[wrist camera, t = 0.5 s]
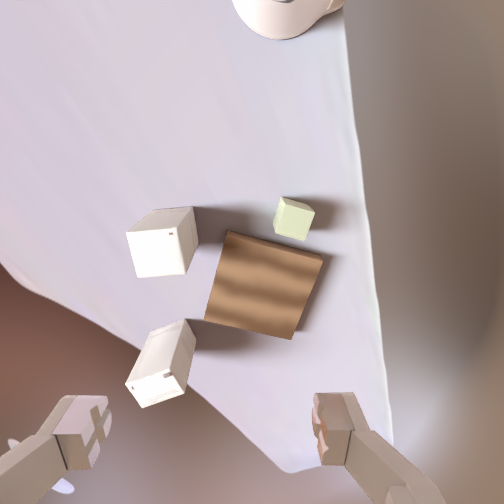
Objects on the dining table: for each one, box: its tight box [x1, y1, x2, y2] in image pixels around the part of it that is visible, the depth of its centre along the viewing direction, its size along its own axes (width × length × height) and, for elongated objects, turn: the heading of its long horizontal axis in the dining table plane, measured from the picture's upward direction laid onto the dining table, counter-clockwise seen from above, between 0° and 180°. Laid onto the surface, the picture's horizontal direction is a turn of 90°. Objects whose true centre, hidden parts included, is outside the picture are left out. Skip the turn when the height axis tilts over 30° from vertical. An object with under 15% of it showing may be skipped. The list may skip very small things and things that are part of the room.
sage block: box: [272, 197, 315, 241], centre depth 49 cm, size 5×5×6 cm
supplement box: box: [126, 207, 199, 278], centre depth 46 cm, size 7×7×13 cm
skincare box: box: [125, 319, 197, 408], centre depth 54 cm, size 8×6×15 cm
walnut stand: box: [204, 230, 323, 340], centre depth 55 cm, size 18×18×3 cm
